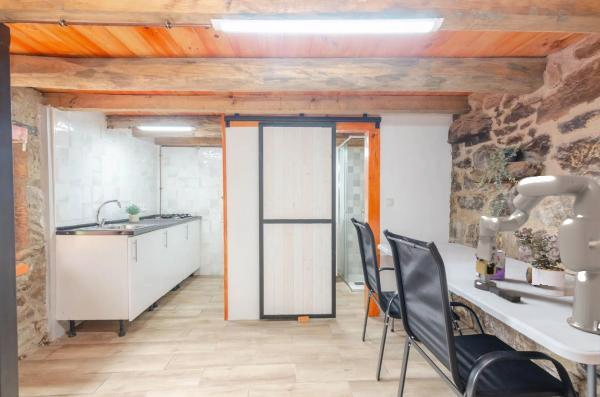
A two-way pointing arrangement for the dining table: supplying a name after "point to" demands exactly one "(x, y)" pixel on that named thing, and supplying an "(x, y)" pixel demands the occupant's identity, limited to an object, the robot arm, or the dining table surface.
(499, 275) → the candy box
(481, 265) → the tan cube
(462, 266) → the dining table surface
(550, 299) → the dining table surface
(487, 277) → the ratchet
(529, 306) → the dining table surface
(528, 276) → the tin
